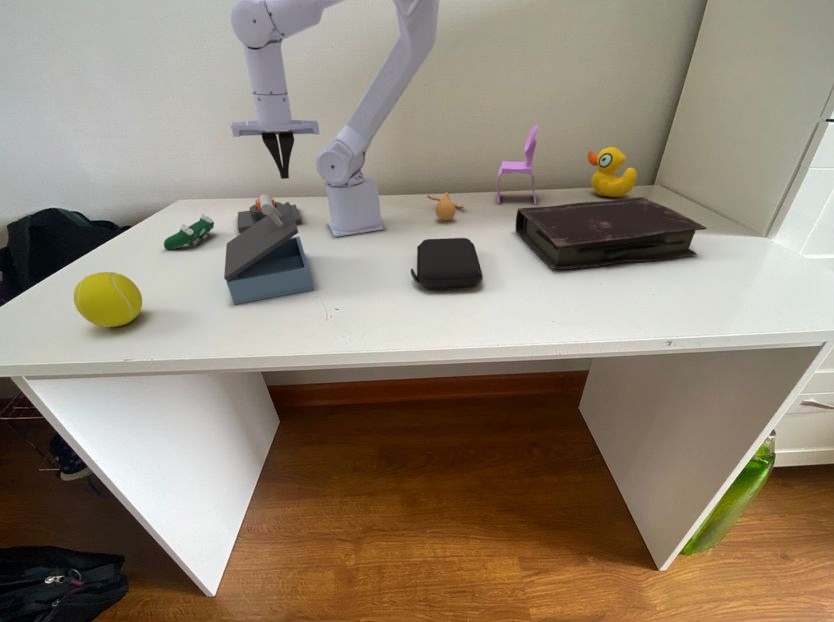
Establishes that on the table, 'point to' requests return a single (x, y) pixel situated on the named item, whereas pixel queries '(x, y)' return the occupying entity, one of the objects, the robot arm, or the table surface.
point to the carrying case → (447, 264)
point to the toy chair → (521, 166)
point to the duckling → (611, 173)
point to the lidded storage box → (273, 275)
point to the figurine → (445, 207)
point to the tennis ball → (107, 299)
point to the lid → (260, 237)
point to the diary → (606, 232)
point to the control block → (260, 216)
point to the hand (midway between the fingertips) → (284, 177)
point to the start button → (260, 205)
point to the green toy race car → (190, 233)
